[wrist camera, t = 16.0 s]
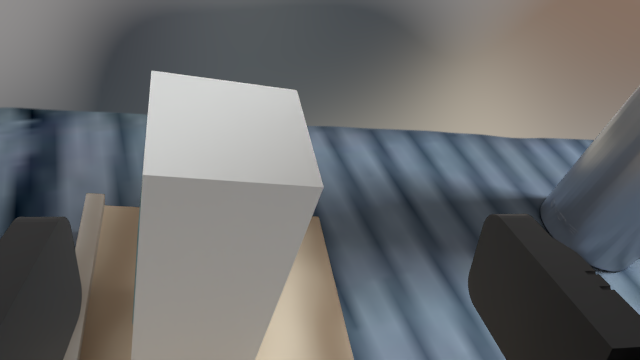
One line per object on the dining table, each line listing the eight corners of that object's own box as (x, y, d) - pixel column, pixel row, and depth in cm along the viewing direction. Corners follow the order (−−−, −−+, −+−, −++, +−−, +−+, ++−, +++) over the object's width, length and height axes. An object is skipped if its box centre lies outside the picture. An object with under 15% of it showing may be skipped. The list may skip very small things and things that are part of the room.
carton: (237, 290, 29) (296, 90, 20) (245, 383, 25) (323, 187, 16) (135, 291, 27) (150, 70, 18) (127, 391, 23) (140, 174, 14)
